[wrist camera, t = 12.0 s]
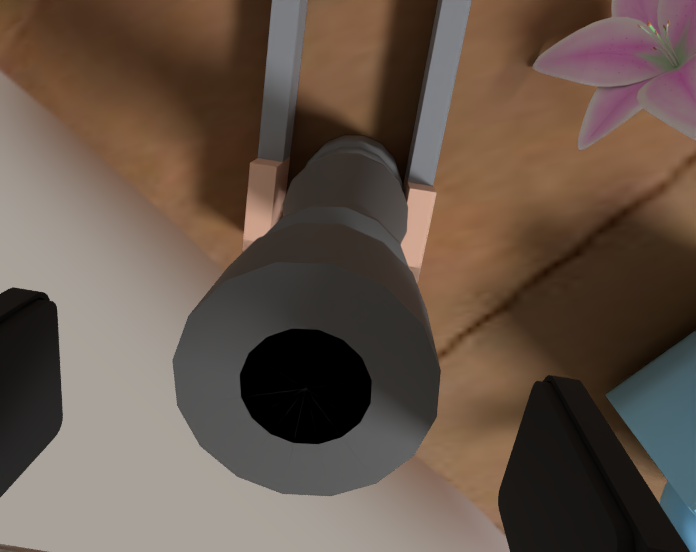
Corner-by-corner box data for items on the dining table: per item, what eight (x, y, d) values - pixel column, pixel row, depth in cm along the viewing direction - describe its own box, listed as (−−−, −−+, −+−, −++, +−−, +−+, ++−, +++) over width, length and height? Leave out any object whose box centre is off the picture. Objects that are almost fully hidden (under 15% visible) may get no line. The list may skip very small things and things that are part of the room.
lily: (734, -79, 30) (763, -191, 22) (830, 108, 29) (899, 67, 20) (529, 45, 36) (491, -5, 28) (601, 205, 35) (583, 202, 26)
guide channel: (288, -61, 30) (271, -89, 26) (470, -32, 30) (488, -53, 26) (258, 240, 36) (241, 263, 32) (410, 264, 36) (415, 291, 32)
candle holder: (392, 126, 33) (434, 223, 10) (406, 221, 35) (468, 490, 12) (296, 143, 34) (120, 273, 11) (315, 236, 36) (203, 519, 13)
